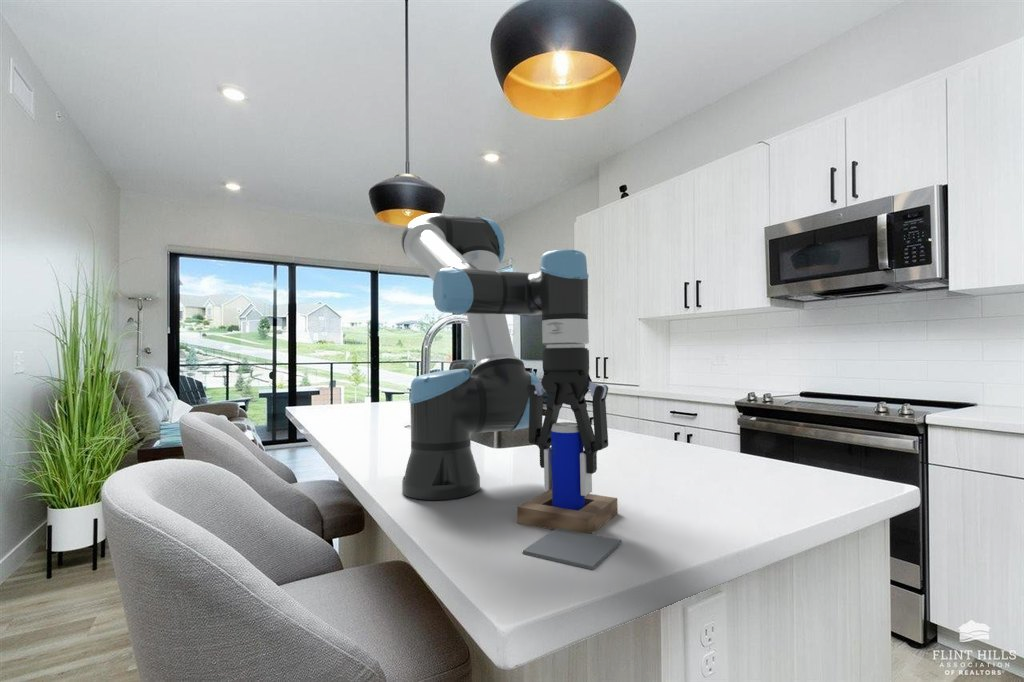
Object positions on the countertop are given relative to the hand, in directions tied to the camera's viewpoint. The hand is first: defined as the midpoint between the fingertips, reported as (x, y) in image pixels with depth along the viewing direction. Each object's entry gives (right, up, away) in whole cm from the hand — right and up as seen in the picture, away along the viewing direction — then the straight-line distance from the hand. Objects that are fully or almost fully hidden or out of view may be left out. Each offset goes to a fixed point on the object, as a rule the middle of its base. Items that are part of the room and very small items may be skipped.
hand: (568, 490), depth 81 cm
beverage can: (0, -5, 0) cm, 5 cm away
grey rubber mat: (-1, -4, -13) cm, 13 cm away
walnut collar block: (0, -4, 0) cm, 4 cm away
